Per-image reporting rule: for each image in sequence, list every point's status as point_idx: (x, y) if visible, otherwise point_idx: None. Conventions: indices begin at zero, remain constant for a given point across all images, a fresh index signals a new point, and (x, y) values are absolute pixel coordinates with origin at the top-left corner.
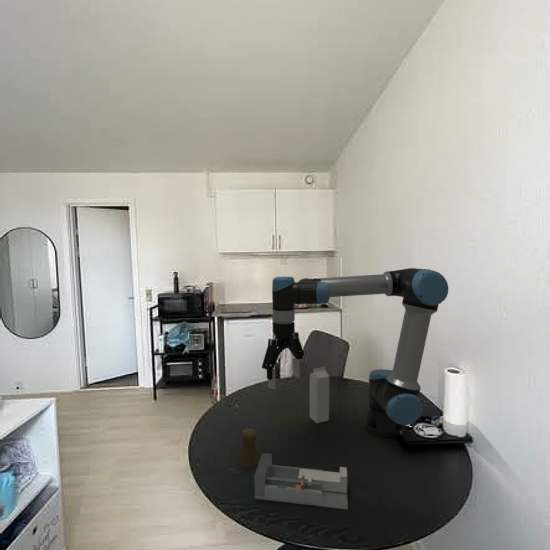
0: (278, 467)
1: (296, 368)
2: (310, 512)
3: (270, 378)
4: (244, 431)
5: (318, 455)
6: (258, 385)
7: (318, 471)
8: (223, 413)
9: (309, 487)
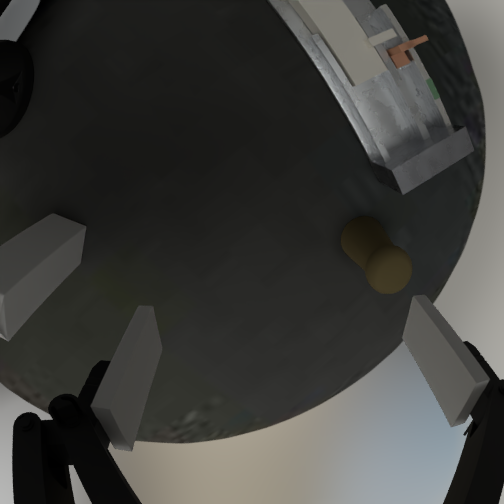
0: (381, 140)
1: (140, 364)
2: (401, 26)
3: (470, 346)
4: (402, 284)
5: (213, 115)
6: None
7: (330, 39)
8: (238, 414)
9: None
